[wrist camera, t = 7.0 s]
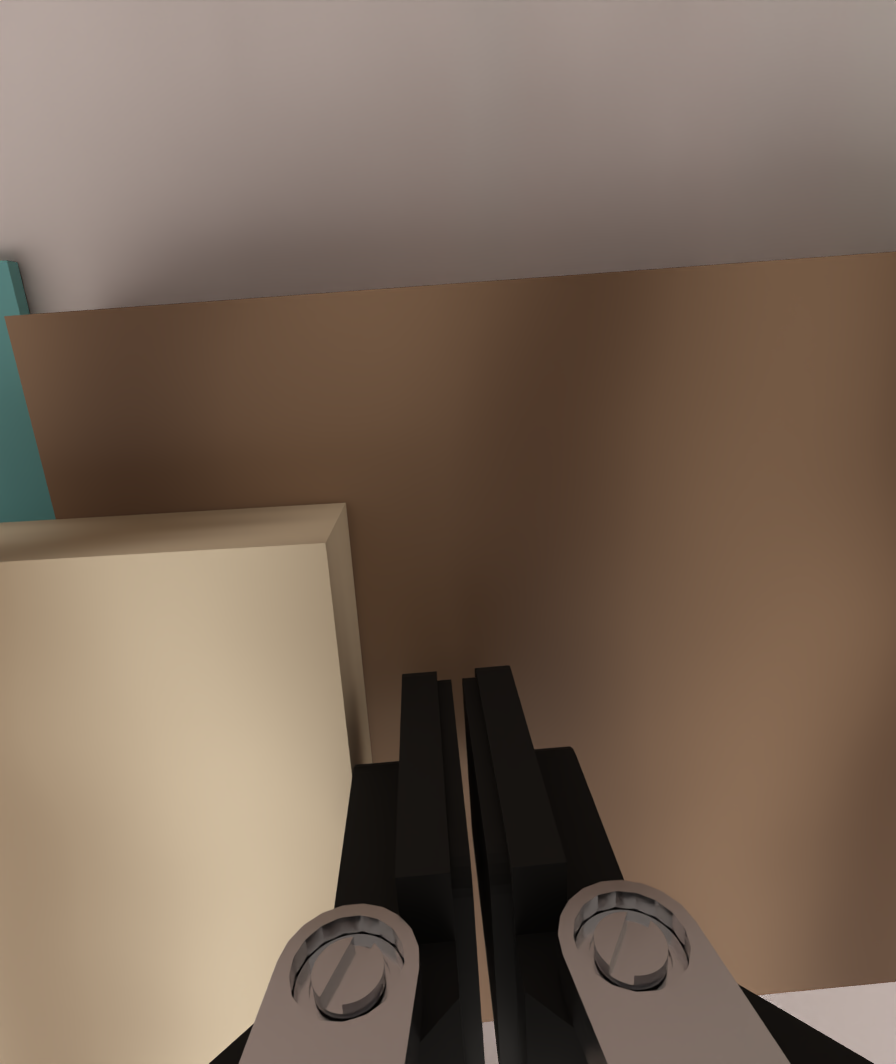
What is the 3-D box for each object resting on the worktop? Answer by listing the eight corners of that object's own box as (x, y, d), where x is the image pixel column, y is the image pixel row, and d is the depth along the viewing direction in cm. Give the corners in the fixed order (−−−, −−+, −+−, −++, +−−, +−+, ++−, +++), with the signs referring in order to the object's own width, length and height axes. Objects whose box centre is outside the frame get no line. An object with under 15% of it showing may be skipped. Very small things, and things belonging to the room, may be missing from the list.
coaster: (345, 502, 10) (325, 543, 8) (392, 958, 13) (385, 1069, 11) (-252, 537, 10) (-418, 586, 8) (-81, 988, 12) (-173, 1106, 11)
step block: (986, 254, 12) (1132, 235, 9) (889, 877, 16) (973, 973, 14) (90, 320, 11) (3, 315, 9) (226, 940, 16) (191, 1050, 13)
